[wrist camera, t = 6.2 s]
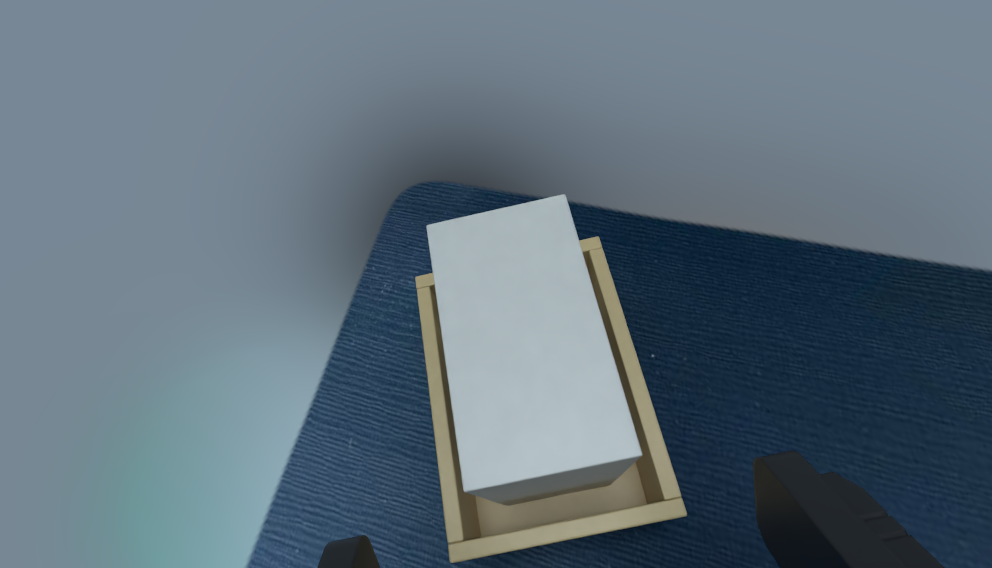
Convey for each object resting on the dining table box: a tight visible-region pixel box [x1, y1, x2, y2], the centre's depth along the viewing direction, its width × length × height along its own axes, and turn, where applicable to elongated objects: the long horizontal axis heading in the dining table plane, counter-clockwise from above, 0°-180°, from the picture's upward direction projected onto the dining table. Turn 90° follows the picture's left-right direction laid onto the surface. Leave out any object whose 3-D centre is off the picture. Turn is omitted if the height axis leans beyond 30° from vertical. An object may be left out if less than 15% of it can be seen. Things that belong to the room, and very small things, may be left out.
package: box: [427, 195, 642, 506], centre depth 19 cm, size 8×5×10 cm, turn 10°
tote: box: [415, 237, 687, 563], centre depth 22 cm, size 11×8×4 cm
